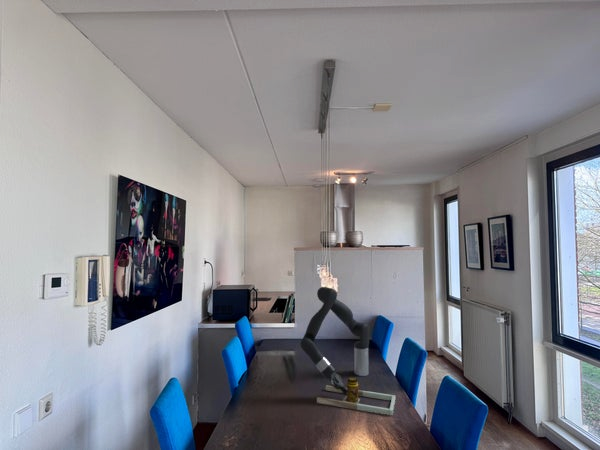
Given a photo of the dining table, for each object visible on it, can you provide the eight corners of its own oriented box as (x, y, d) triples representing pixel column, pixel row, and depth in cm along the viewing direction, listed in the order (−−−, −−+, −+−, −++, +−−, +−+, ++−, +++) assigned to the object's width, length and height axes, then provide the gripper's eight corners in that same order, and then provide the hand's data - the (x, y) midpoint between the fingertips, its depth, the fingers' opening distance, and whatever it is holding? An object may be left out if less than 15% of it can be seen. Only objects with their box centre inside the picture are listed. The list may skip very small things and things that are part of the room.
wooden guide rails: (326, 389, 201) (326, 385, 201) (363, 395, 193) (363, 390, 193) (316, 402, 183) (316, 398, 184) (357, 409, 176) (357, 404, 176)
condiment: (357, 404, 181) (357, 381, 182) (341, 401, 184) (341, 379, 185) (360, 399, 188) (360, 377, 188) (345, 396, 191) (345, 374, 192)
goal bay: (363, 395, 193) (363, 390, 193) (395, 400, 187) (395, 395, 187) (357, 409, 176) (357, 404, 176) (392, 415, 169) (392, 410, 170)
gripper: (326, 367, 185) (348, 393, 180) (332, 359, 198) (353, 384, 193) (317, 375, 187) (338, 402, 182) (324, 367, 199) (344, 392, 194)
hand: (346, 392), depth 187 cm, fingers closed
